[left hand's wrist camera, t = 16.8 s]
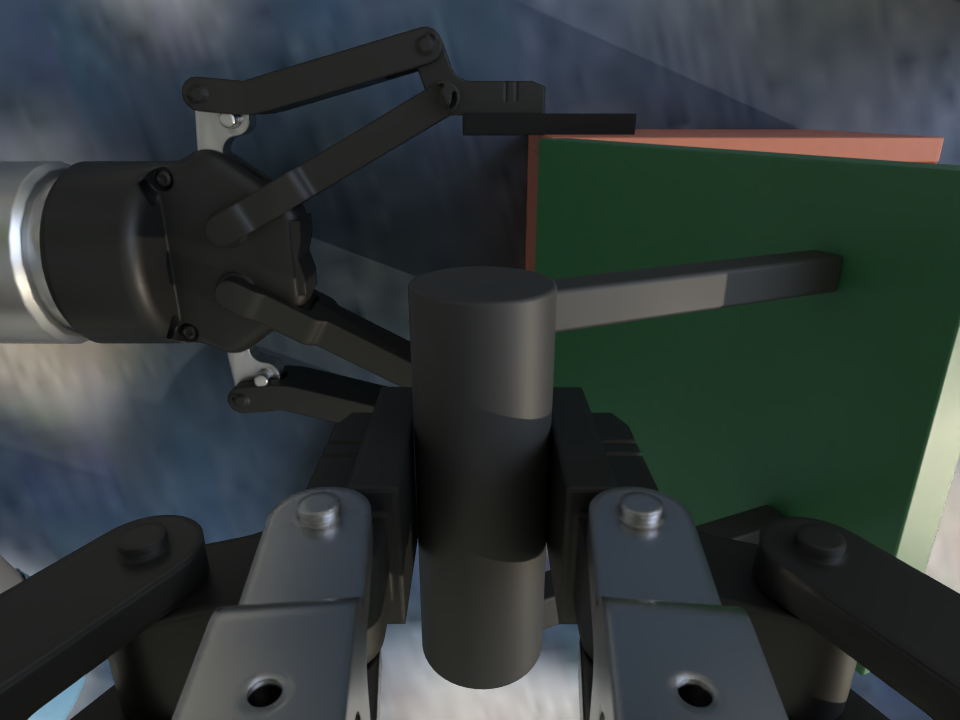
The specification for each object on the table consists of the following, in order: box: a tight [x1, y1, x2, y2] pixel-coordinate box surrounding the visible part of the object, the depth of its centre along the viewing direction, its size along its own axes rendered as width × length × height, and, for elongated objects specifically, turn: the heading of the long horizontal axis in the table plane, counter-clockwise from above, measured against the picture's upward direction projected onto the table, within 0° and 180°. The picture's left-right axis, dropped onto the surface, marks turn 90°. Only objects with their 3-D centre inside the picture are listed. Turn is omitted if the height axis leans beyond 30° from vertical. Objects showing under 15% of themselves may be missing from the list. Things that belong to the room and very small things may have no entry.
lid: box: [408, 138, 960, 689], centre depth 16 cm, size 14×10×9 cm
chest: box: [525, 129, 944, 272], centre depth 29 cm, size 13×10×10 cm
